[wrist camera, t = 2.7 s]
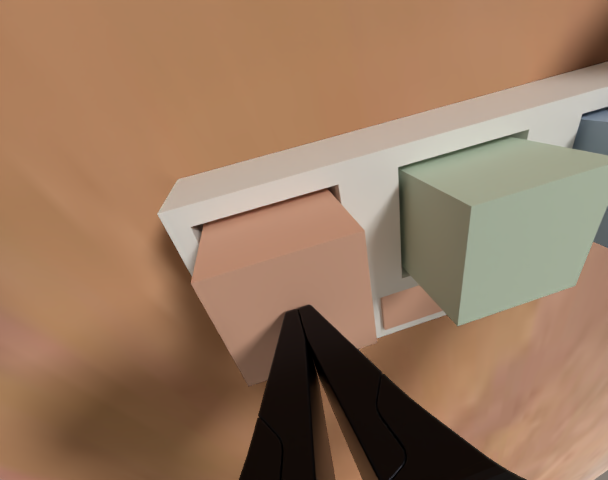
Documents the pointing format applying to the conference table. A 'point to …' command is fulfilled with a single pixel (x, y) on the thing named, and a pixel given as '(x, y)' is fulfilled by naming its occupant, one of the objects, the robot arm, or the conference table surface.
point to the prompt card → (404, 310)
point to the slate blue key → (598, 139)
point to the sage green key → (499, 223)
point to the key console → (382, 165)
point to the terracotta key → (283, 275)
